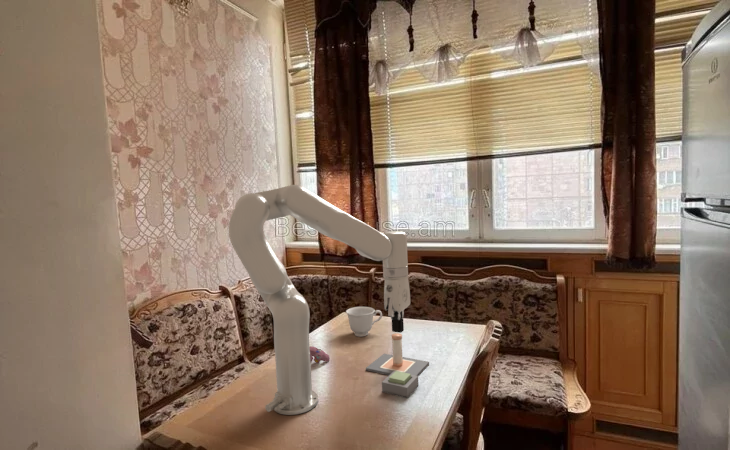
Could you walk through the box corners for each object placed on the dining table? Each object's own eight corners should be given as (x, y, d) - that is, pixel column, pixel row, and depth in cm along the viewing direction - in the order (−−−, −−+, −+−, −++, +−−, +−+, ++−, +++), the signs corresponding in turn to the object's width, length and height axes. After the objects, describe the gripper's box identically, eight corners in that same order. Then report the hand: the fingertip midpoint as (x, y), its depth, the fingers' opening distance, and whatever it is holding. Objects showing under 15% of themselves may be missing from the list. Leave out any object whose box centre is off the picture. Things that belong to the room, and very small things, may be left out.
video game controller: (302, 364, 140) (295, 350, 136) (308, 354, 143) (302, 340, 140) (325, 369, 135) (319, 354, 132) (331, 358, 139) (326, 344, 136)
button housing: (407, 398, 110) (407, 387, 110) (382, 392, 114) (381, 382, 114) (418, 385, 117) (418, 376, 117) (394, 380, 121) (393, 371, 121)
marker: (400, 367, 128) (399, 337, 127) (390, 365, 130) (389, 336, 129) (404, 363, 131) (403, 334, 130) (395, 361, 133) (394, 332, 132)
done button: (404, 387, 112) (404, 380, 112) (389, 384, 115) (389, 377, 115) (411, 380, 117) (410, 373, 116) (396, 377, 119) (396, 370, 119)
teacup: (383, 338, 157) (382, 314, 157) (345, 339, 158) (344, 315, 157) (382, 328, 169) (381, 305, 169) (347, 329, 170) (346, 307, 169)
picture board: (413, 380, 121) (413, 377, 121) (365, 370, 129) (365, 367, 129) (429, 364, 132) (429, 361, 132) (384, 355, 141) (384, 353, 140)
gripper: (397, 277, 111) (399, 341, 112) (415, 268, 124) (418, 325, 126) (373, 276, 115) (376, 337, 116) (394, 267, 128) (396, 322, 129)
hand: (397, 331), depth 121 cm, fingers closed
